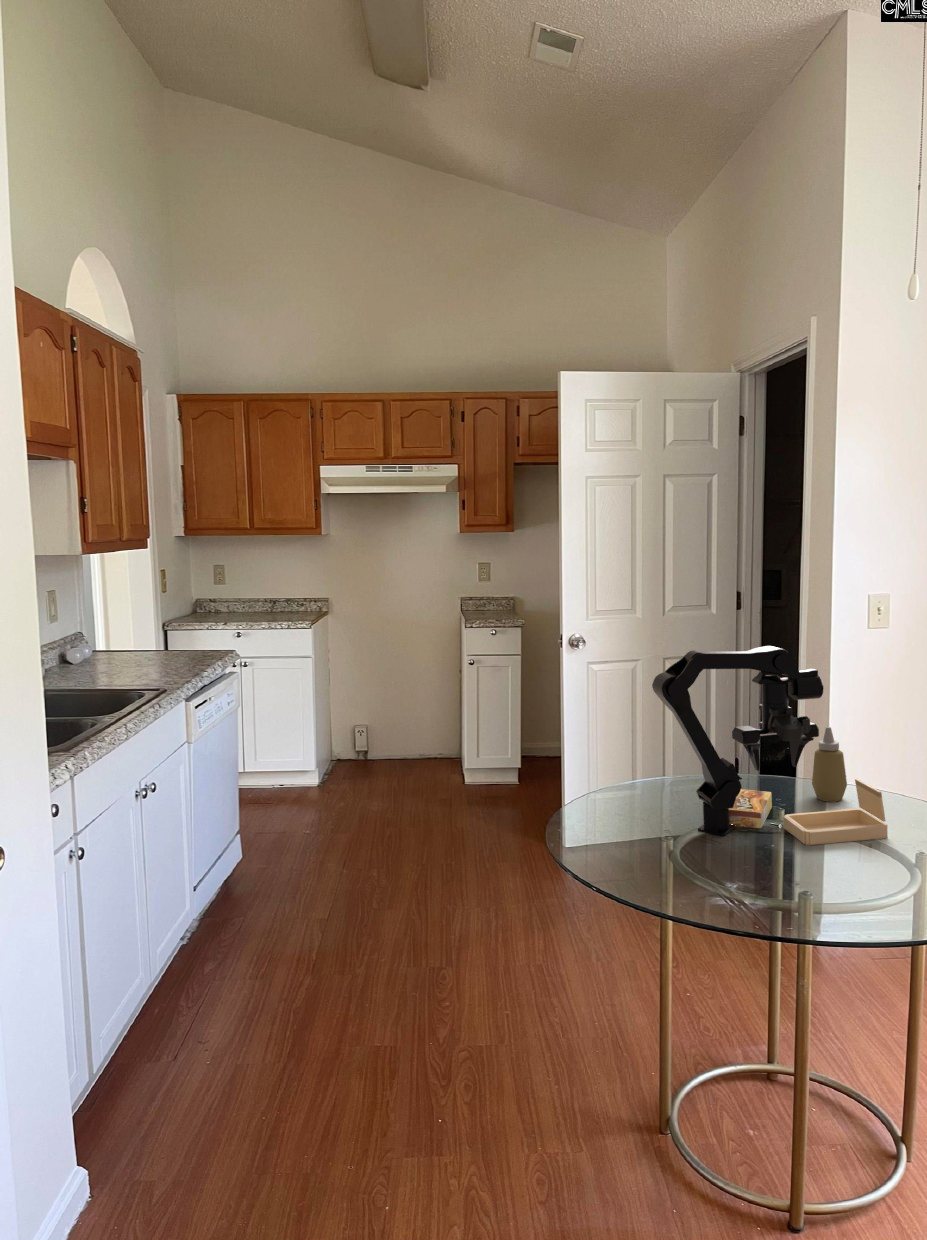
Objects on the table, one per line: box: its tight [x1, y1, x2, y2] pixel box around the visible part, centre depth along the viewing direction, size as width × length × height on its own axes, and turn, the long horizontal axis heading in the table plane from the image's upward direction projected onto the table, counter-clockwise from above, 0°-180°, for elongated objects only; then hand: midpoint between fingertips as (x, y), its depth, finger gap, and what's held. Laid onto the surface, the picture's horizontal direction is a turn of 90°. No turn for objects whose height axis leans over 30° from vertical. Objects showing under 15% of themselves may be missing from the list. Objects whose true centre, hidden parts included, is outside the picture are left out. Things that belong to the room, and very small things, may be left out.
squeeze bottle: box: [811, 726, 848, 802], centre depth 215 cm, size 8×8×18 cm
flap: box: [854, 778, 886, 823], centre depth 193 cm, size 1×10×7 cm, turn 4°
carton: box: [782, 808, 888, 846], centre depth 193 cm, size 18×12×3 cm, turn 94°
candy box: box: [729, 788, 773, 829], centre depth 208 cm, size 9×4×15 cm
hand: (775, 768), depth 200 cm, fingers open, 9 cm apart
